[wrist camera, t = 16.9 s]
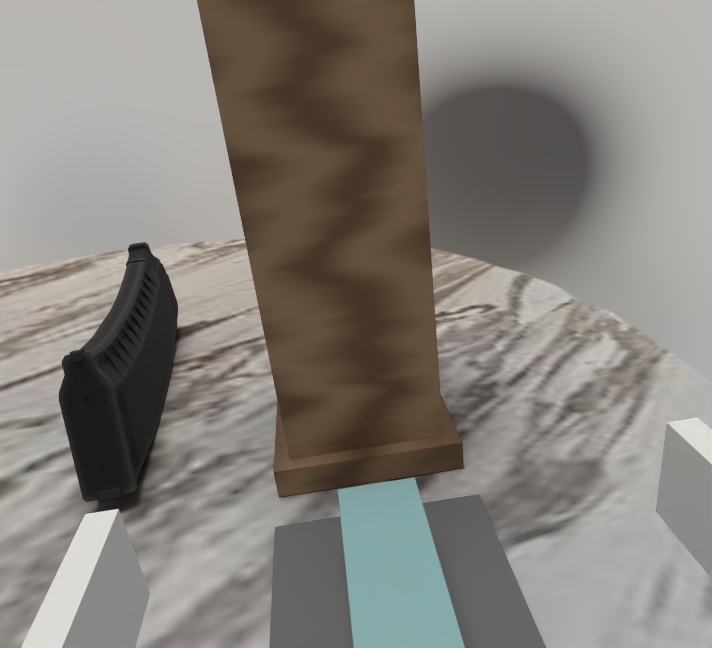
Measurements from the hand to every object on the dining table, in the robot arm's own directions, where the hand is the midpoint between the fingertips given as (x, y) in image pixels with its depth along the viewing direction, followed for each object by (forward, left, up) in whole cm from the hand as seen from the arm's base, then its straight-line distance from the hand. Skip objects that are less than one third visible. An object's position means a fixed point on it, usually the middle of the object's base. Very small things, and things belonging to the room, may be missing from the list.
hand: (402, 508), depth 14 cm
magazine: (-18, +35, -15) cm, 42 cm away
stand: (0, +26, -14) cm, 30 cm away
